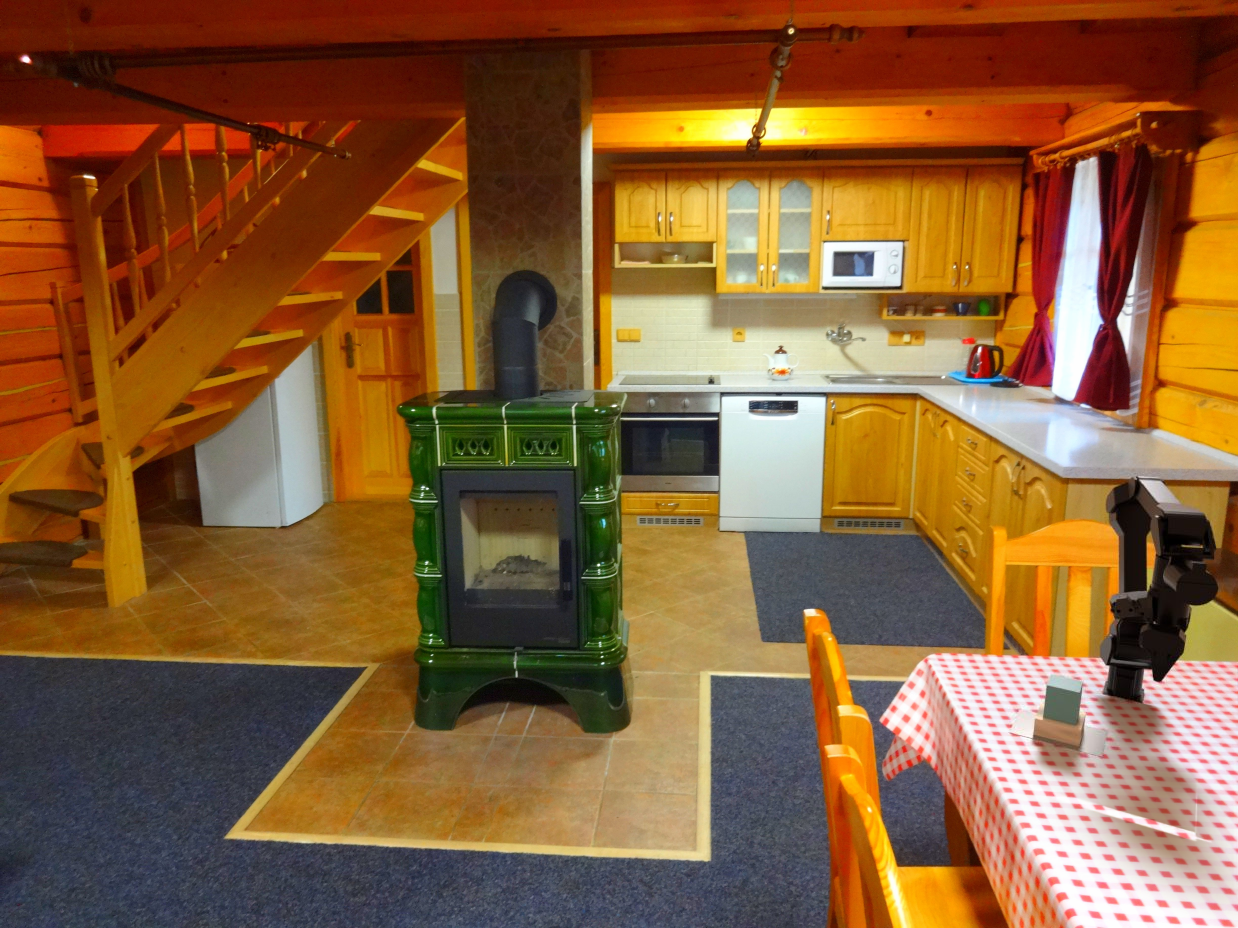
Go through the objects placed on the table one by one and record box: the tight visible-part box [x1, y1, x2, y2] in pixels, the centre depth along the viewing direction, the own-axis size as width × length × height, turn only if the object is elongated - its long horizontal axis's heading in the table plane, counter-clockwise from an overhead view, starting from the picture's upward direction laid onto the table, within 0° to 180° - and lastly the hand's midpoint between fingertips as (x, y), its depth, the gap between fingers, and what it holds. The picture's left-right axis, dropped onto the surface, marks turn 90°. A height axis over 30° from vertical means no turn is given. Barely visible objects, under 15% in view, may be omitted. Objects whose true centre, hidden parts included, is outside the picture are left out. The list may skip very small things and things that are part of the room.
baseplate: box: [1009, 708, 1109, 758], centre depth 150 cm, size 10×14×1 cm
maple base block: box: [1033, 701, 1087, 746], centre depth 150 cm, size 7×7×3 cm
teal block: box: [1043, 673, 1084, 726], centre depth 149 cm, size 5×5×6 cm
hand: (1159, 671), depth 147 cm, fingers open, 9 cm apart
